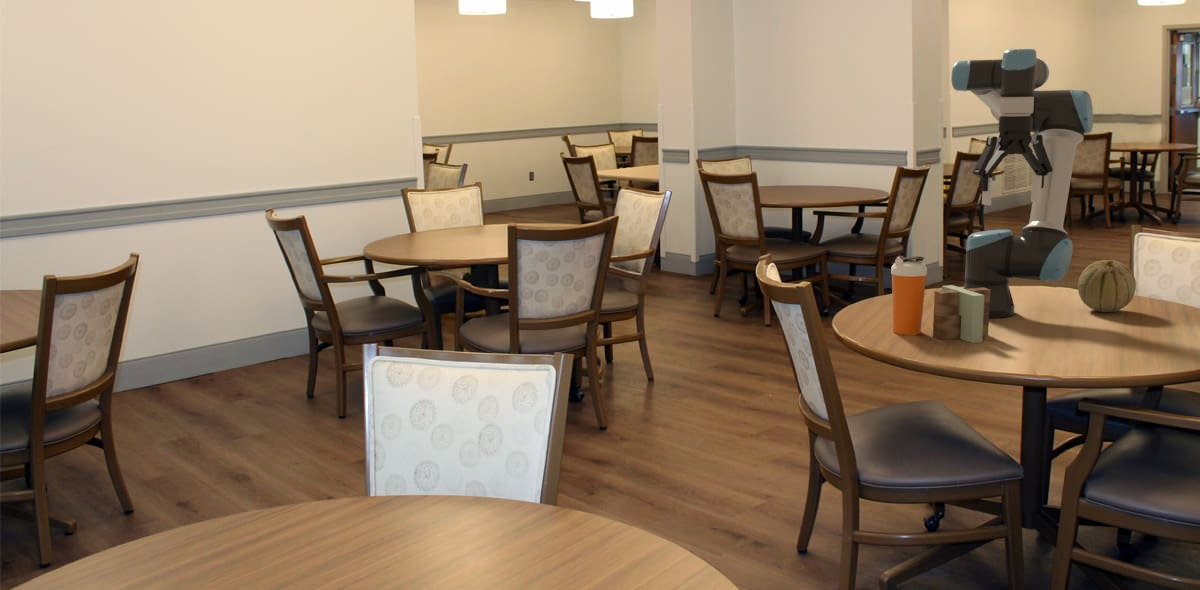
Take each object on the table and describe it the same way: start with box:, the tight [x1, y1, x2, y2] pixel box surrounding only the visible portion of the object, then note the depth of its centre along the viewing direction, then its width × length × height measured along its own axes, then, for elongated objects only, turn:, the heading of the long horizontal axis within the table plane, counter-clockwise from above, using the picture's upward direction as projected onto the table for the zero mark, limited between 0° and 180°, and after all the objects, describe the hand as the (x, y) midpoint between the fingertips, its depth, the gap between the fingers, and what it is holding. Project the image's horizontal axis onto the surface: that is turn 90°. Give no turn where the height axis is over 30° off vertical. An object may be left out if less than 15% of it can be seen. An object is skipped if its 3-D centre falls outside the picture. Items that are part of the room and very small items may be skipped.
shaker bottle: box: [890, 255, 928, 336], centre depth 263 cm, size 9×9×20 cm
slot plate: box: [941, 284, 984, 344], centre depth 258 cm, size 14×3×12 cm, turn 13°
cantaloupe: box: [1077, 259, 1137, 313], centre depth 281 cm, size 15×15×15 cm
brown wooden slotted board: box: [932, 288, 990, 341], centre depth 258 cm, size 14×3×12 cm, turn 103°
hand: (1011, 203), depth 247 cm, fingers open, 13 cm apart
